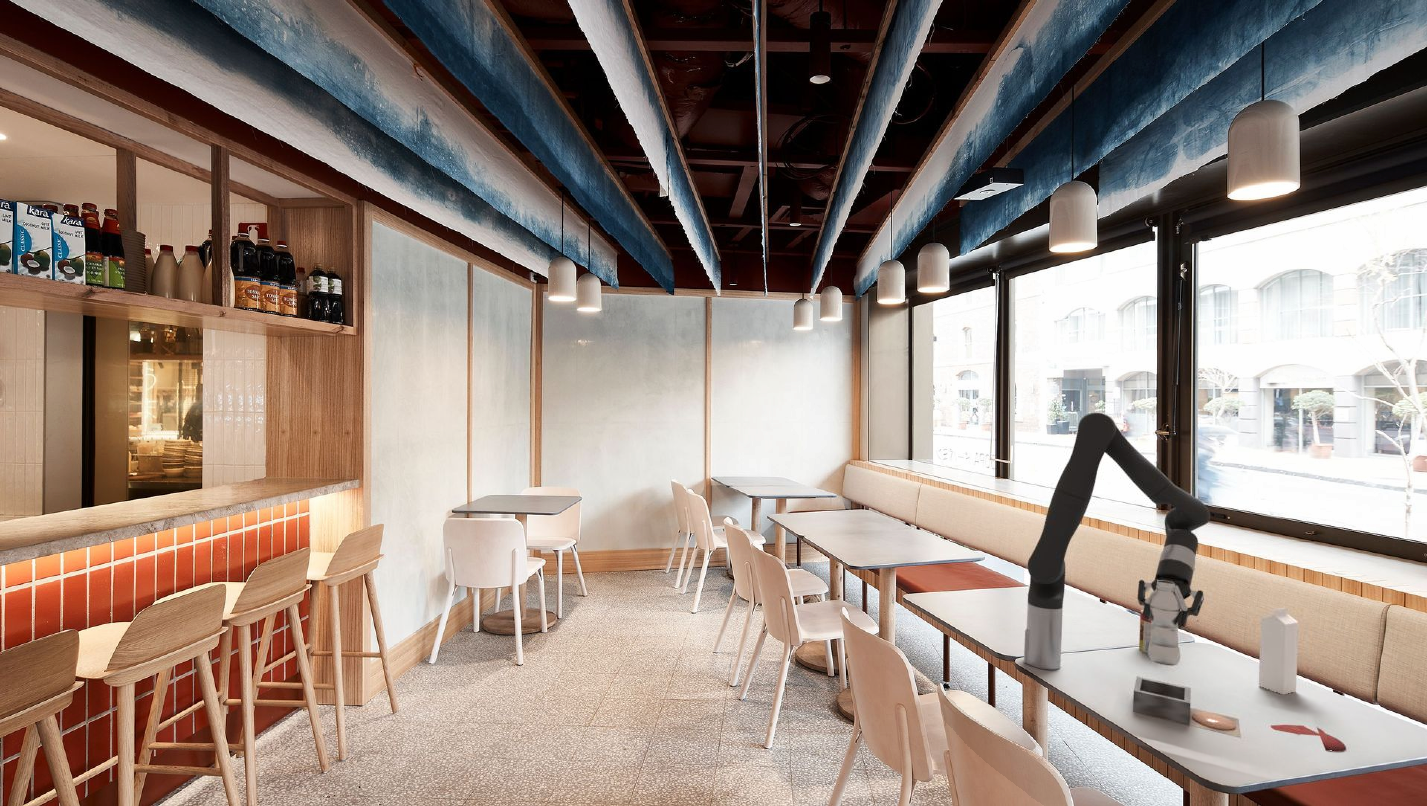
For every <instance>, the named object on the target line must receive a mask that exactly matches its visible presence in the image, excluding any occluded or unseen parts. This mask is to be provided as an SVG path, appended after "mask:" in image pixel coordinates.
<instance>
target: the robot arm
mask: <svg viewBox="0 0 1427 806" xmlns="http://www.w3.org/2000/svg"><path fill="white" fill-rule="evenodd" d="M1105 454H1106V455H1107V456H1108V457H1110V458H1111V459H1112V460H1113V461H1114V462H1115V463H1116V464H1117V466H1119V467H1120V469H1121V470H1122V471H1123V473H1125V475H1126V476H1127V477H1128V479H1130V481H1132V483H1133V484H1134V485H1135V486H1136V487H1137V488H1138V489H1139V490H1140V491H1141V492H1142V493H1143V494H1144V495H1145V496H1146V497H1147V498H1148V499H1149V500H1150V501H1151V502H1152V503H1153V504H1155V505H1158V506H1159V505H1166V504H1167V505H1170V506H1172V507H1173V508H1171V509H1170V510H1169V511H1168V512H1167V513H1166V515H1165V517H1164V530H1165V535H1166V537H1165V540H1164V545H1163V549H1162V552H1161V554H1160V557H1159V560H1158V566H1157V568H1156V573H1155V576H1154V577H1155V578H1154V580H1153V581H1152V582H1145V581H1144V580H1143V579H1140V580H1139V581H1138V588H1137V601H1138V604H1139V605H1140V606H1144V607H1143V609H1142V610H1143V617H1144V619H1145V620H1146V621H1148V622H1149V621H1150V617H1151V612H1150V605H1149V601H1150V598H1151V597H1152V596H1153V594H1155V593H1156V592H1157V590H1158V589H1156V586H1157V581H1158V580H1164V581H1170V582H1174V583H1175V591H1174V594H1175V595H1176V597H1177V598H1178V600H1179V601H1180V604H1181V610H1180V614H1179V618H1178V629H1181V630H1182V629H1183V628H1185V627H1186V626H1187V623H1188V618H1189V616H1194V617H1197V616H1199V613H1200V612H1201V611H1200V610H1201V608H1202V606H1203V603H1204V600H1205V595H1204V591H1202V590H1197V591H1195V590H1193V589H1192V588H1191V586H1192V580H1193V576H1194V573H1195V570H1196V568H1195V566H1196V556H1197V551H1198V547H1199V539H1198V537H1197V535H1196V534H1195V533H1194V532H1193V531H1195V530H1197V529H1199V528H1201V527H1204V526H1205V525H1207V524H1208V523H1209V522H1210V520H1211V513H1210V511H1209V508H1208V506H1207V505H1206V504H1204V502H1202V500H1200V499H1198V498H1197V497H1195V496H1193V495H1192V494H1190V493H1189V492H1188V491H1186V490H1183V489H1182V488H1180V487H1178V486H1177V485H1175V484H1174V483H1173V482H1172V481H1171V480H1170V479H1169V478H1168V477H1167V476H1166V475H1165V474H1164V473H1163V472H1162V471H1161V470H1160V469H1159V468H1158V467H1156V466H1155V465H1154V464H1153V463H1152V462H1150V460H1149V459H1147V458H1146V457H1145V456H1144V455H1143V454H1142V453H1140V452H1139V451H1138V449H1136V448H1135V447H1134V445H1132V444H1131V443H1130V442H1129V440H1128V439H1127V438H1126V437H1125V436H1124V435H1123V433H1122V432H1121V431H1120V429H1119V428H1118V427H1117V425H1116V423H1115V421H1114V419H1113V417H1111V416H1110V415H1109V414H1107V413H1105V412H1103V411H1102V412H1101V411H1093V412H1089V413H1087V414H1085V415H1083V417H1082V418H1081V419H1080V420H1079V423H1078V427H1077V433H1076V437H1075V441H1074V445H1073V449H1072V452H1071V454H1070V455H1071V456H1070V458H1069V459H1068V461H1067V463H1066V465H1065V467H1064V469H1063V471H1062V473H1061V475H1060V476H1059V479H1058V482H1057V483H1056V486H1055V488H1054V491H1053V494H1052V495H1051V496H1052V497H1051V499H1050V502H1049V503H1050V504H1049V506H1048V509H1047V513H1046V517H1045V521H1044V526H1043V529H1042V532H1041V535H1040V537H1039V540H1038V542H1037V543H1036V546H1035V548H1034V549H1033V552H1032V554H1031V555H1030V557H1029V559H1028V560H1027V570H1028V574H1029V575H1030V577H1029V578H1030V579H1029V587H1028V593H1027V610H1026V612H1027V613H1026V614H1027V615H1026V628H1025V630H1024V650H1023V653H1024V654H1023V663H1024V664H1028V665H1030V666H1032V667H1035V668H1038V669H1042V670H1043V669H1044V670H1058V669H1060V668H1061V662H1062V658H1061V657H1062V639H1063V638H1062V635H1063V634H1062V633H1063V632H1062V631H1063V612H1064V609H1063V608H1064V607H1063V606H1064V605H1063V604H1064V597H1065V586H1066V585H1065V583H1066V562H1065V557H1066V554H1067V550H1068V548H1069V544H1070V542H1071V540H1072V538H1073V537H1074V535H1075V533H1076V531H1077V530H1078V528H1079V526H1080V524H1081V522H1082V520H1083V518H1084V516H1085V514H1086V512H1087V509H1088V506H1089V503H1090V501H1091V499H1092V497H1093V492H1094V489H1095V486H1096V485H1095V484H1096V480H1097V475H1098V471H1099V466H1100V465H1101V464H1100V463H1101V461H1102V459H1103V457H1104V455H1105ZM1150 589H1152V590H1153V591H1152V592H1151V593H1150V595H1149V597H1147V598H1146V592H1148V591H1149V590H1150ZM1190 596H1192V600H1193V601H1192V605H1190V606H1191V607H1188V606H1187V604H1186V602H1185V600H1187V598H1189V597H1190Z"/></svg>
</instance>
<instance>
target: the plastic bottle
mask: <svg viewBox="0 0 1427 806" xmlns="http://www.w3.org/2000/svg"><path fill="white" fill-rule="evenodd" d="M1156 589H1158V590H1157V592H1156V593H1155V594H1153V596H1152V597H1151V598H1150V601H1149V605H1150V612H1151V623H1152V630H1151V639H1150V643H1149V648H1148V653H1149V654H1148V657H1149V659H1150V660H1151V661H1152V662H1154V663H1155V664H1158V665H1163V666H1171V667H1173V666H1177V665H1178V664H1179V663H1180V662H1181V661H1180V660H1181V650H1180V646H1179V636H1178V635H1179V633H1178V632H1179V628H1178V618H1179V614H1180V611H1181V604H1180V601H1179V600H1178V598H1177V597H1176V595H1175V594H1174V591H1175V583H1174V582H1170V581H1164V580H1158V581H1157V586H1156Z"/></svg>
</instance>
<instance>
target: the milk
mask: <svg viewBox="0 0 1427 806" xmlns="http://www.w3.org/2000/svg"><path fill="white" fill-rule="evenodd" d="M1287 611H1288V609H1287V607H1282V608H1274V609H1273V613H1272V614H1271V615H1267V616H1264V617H1261V619H1260V638H1259V639H1260V641H1259V644H1260V646H1259V666H1258V667H1259V668H1258V670H1259V671H1258V686H1259V685H1260V686H1261V687H1260V688H1262V687H1264V688H1263V689H1265V688H1266V689H1265V690H1268V689H1270V690H1269V691H1272V692H1275V693H1276V692H1278V693H1277V694H1279V693H1280V695H1284V696H1285V695H1288V693H1289V694H1292V693H1291V692H1293V693H1296V692H1297V676H1298V674H1297V673H1298V647H1299V645H1298V644H1299V626H1300V625H1299V621H1298V620H1297V619H1295V618H1294V617H1292V616H1291V615H1290V614H1288V612H1287Z"/></svg>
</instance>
